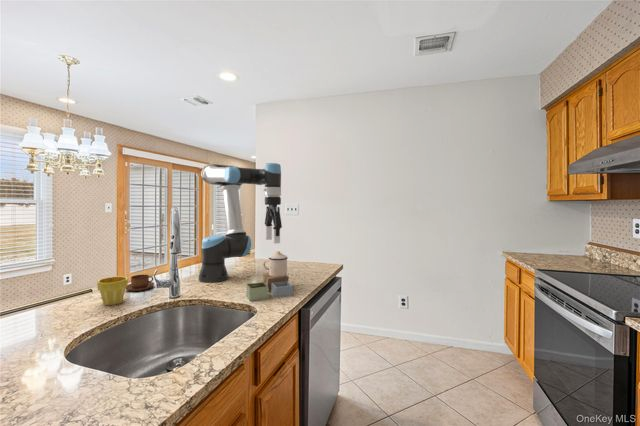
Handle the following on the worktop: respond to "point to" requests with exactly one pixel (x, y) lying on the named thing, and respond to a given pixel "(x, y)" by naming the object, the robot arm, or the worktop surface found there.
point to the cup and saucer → (140, 283)
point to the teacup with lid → (277, 265)
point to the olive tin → (257, 291)
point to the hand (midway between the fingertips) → (272, 241)
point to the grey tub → (282, 289)
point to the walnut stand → (273, 280)
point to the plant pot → (112, 289)
